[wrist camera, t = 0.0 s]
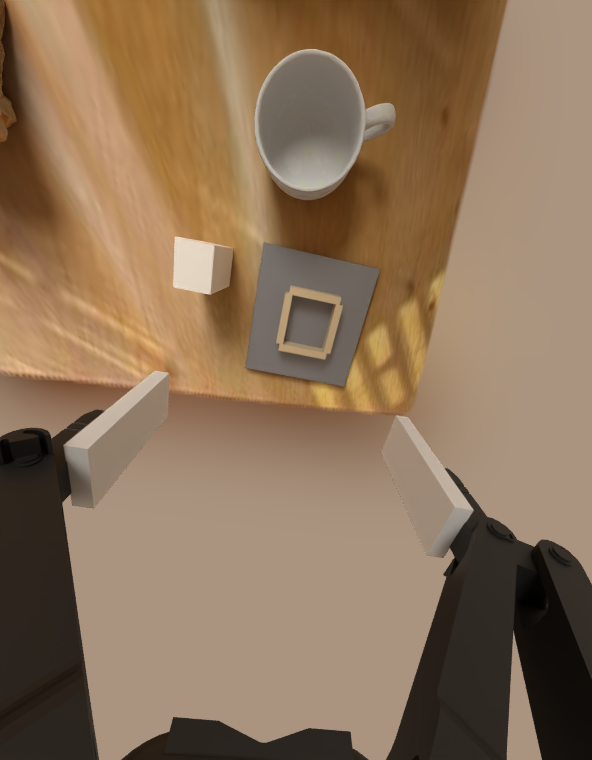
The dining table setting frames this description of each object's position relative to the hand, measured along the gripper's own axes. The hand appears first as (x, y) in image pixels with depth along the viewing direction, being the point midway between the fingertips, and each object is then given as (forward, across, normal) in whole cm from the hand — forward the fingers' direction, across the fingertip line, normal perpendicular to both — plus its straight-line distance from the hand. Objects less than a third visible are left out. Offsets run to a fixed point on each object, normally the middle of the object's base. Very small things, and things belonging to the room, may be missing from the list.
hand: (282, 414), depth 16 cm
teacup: (+28, 0, +20) cm, 35 cm away
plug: (+28, -11, +5) cm, 31 cm away
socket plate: (+28, +3, 0) cm, 28 cm away
